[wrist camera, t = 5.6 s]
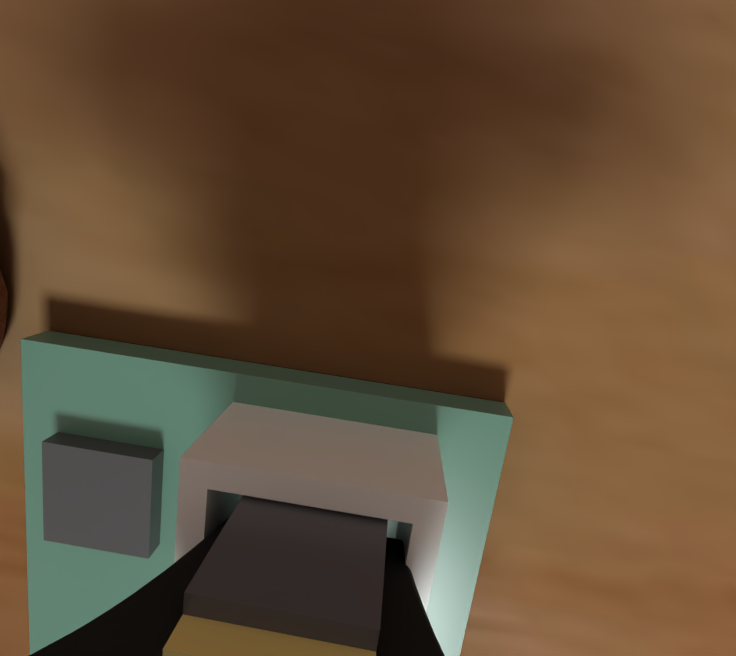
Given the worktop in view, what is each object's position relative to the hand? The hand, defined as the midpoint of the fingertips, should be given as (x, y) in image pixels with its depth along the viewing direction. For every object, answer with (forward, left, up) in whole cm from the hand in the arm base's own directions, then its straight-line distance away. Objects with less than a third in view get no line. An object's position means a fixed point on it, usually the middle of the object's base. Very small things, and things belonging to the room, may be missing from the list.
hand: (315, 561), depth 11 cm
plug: (0, 0, -1) cm, 1 cm away
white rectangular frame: (0, 0, -2) cm, 2 cm away
